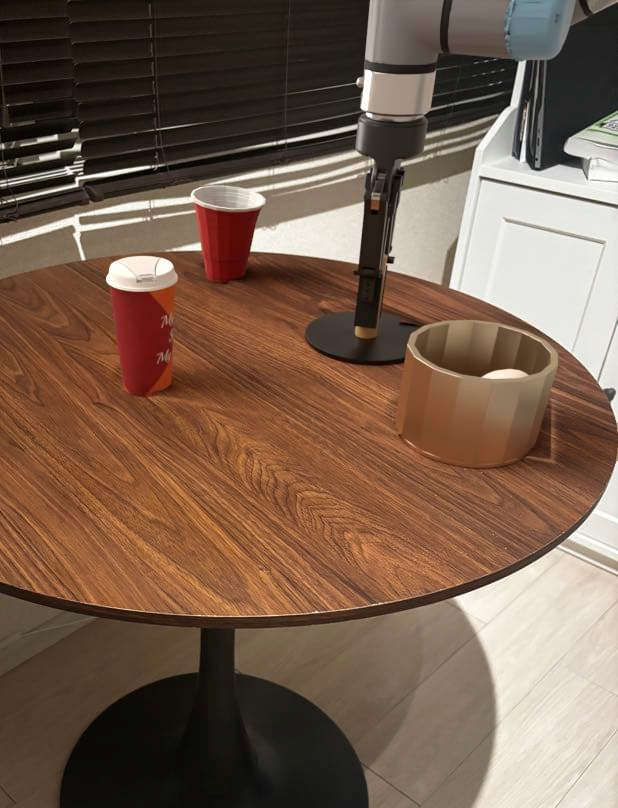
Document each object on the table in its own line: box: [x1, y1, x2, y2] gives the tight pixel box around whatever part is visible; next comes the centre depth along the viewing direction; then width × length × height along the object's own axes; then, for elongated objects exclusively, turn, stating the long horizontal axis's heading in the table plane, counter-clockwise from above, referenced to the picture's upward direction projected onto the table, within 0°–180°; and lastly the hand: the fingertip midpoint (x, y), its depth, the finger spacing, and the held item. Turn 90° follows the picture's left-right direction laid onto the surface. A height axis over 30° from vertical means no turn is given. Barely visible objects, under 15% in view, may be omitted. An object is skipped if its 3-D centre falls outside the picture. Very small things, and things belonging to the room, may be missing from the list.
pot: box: [394, 319, 559, 469], centre depth 83 cm, size 14×14×10 cm
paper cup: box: [105, 255, 179, 398], centre depth 90 cm, size 8×8×14 cm
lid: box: [304, 254, 421, 366], centre depth 101 cm, size 15×15×11 cm
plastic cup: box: [190, 185, 267, 284], centre depth 119 cm, size 11×11×12 cm
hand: (367, 320), depth 102 cm, fingers closed on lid, 3 cm apart
